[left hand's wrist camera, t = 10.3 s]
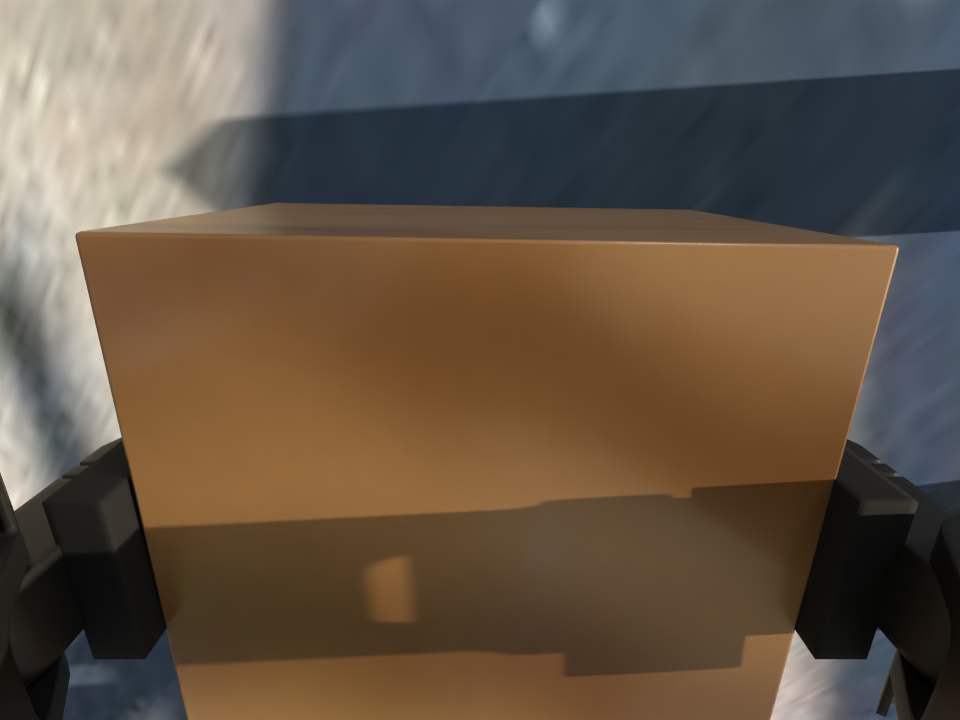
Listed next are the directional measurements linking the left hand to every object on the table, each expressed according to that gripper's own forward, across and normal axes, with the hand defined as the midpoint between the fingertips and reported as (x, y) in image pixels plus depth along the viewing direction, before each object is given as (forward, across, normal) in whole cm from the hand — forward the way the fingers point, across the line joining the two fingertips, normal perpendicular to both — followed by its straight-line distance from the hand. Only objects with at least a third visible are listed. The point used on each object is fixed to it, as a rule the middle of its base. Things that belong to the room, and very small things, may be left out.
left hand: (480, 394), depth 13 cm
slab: (0, 0, -23) cm, 23 cm away
